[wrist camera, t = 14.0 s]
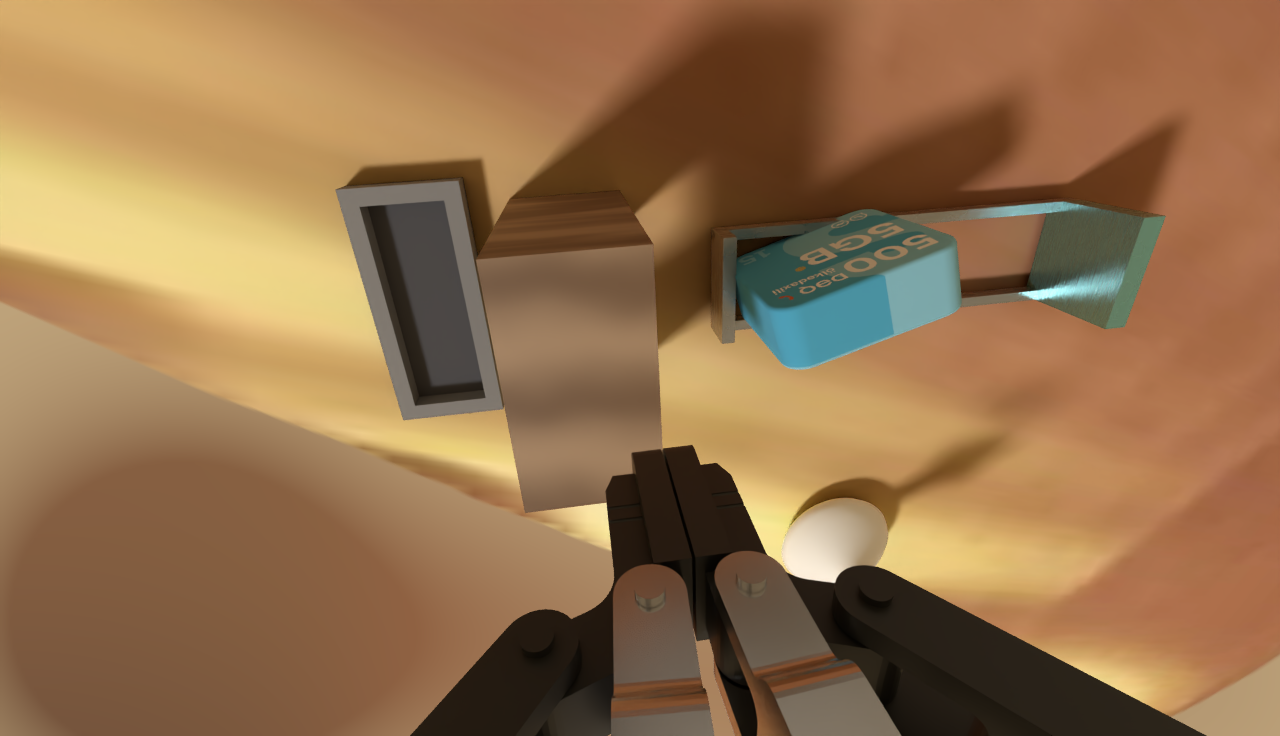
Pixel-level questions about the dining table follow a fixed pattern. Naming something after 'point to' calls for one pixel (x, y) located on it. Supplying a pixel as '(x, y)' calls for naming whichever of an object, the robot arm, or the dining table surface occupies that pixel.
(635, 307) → the wooden arch
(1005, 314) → the dining table surface
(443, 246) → the tray
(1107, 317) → the frame
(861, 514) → the flower in vase
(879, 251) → the data package
